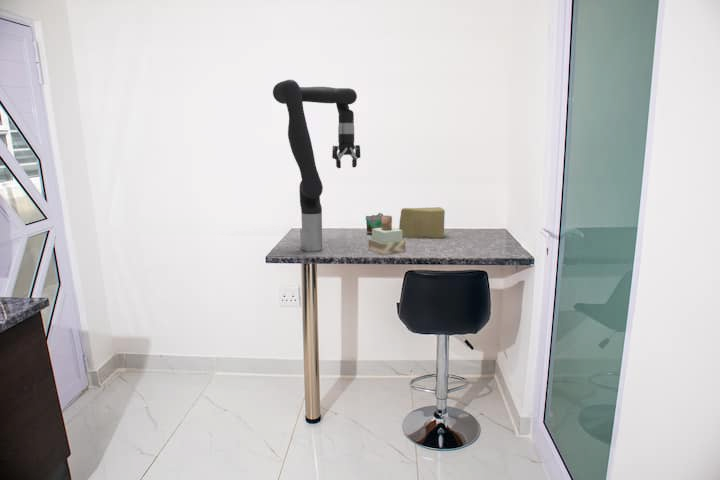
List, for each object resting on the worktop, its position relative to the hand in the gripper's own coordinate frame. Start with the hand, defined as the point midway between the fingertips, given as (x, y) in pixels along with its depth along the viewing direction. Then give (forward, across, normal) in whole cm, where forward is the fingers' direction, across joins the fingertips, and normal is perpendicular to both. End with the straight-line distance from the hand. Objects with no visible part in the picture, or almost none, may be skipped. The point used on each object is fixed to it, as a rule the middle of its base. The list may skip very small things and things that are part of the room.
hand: (346, 167), depth 242 cm
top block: (+32, +6, -25) cm, 41 cm away
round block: (+26, +6, -25) cm, 37 cm away
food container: (+36, +23, +7) cm, 44 cm away
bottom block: (+36, +6, -25) cm, 45 cm away
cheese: (+36, +37, -12) cm, 53 cm away
